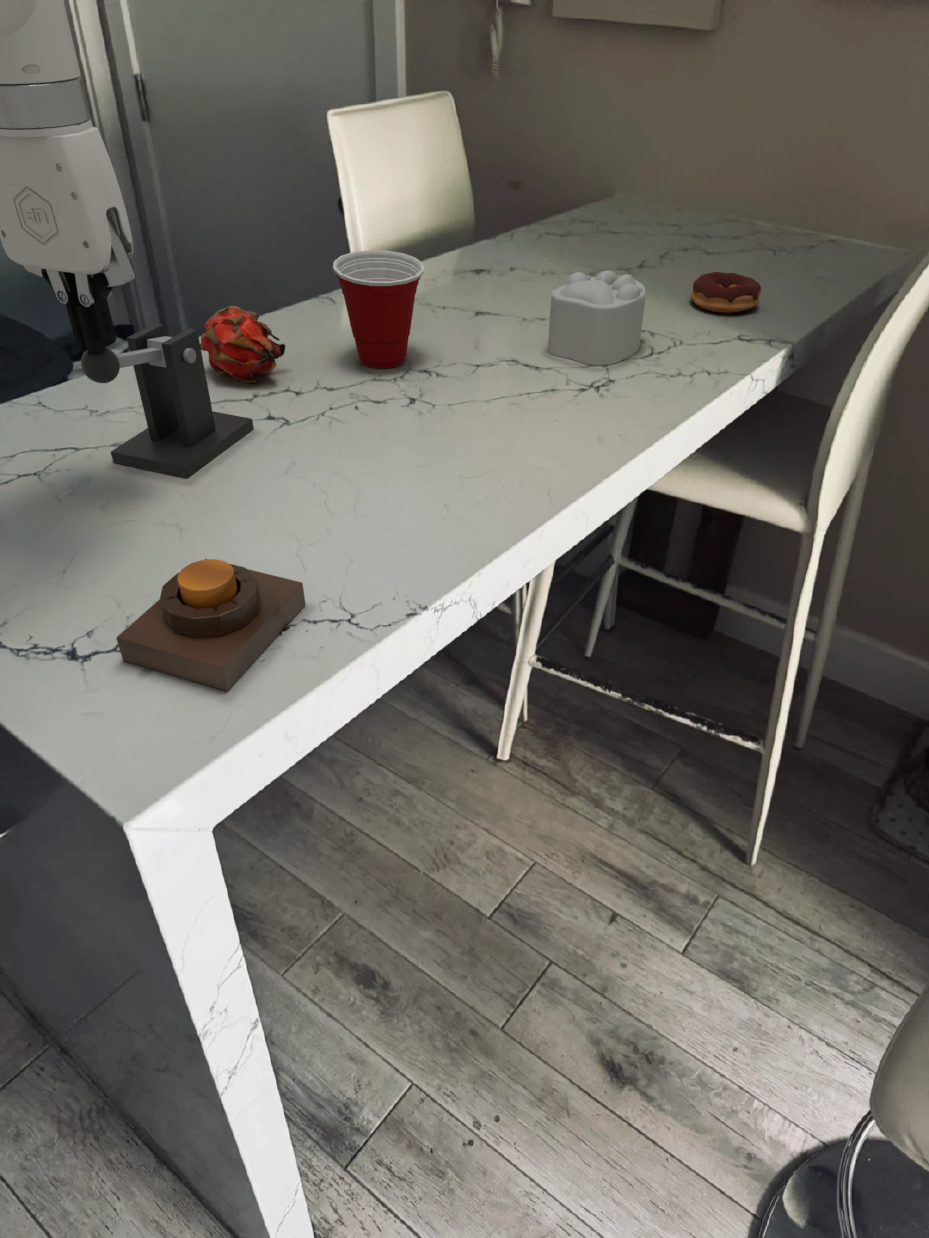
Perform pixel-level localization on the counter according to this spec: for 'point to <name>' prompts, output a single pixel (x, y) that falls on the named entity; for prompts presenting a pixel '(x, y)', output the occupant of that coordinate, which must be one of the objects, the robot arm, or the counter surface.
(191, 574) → the warm button
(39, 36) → the robot arm
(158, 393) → the ball-topped lever switch base
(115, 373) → the ball-topped lever switch
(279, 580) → the control block
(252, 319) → the dragon fruit
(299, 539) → the counter surface
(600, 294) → the lumpy-topped squat cylinder
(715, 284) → the donut
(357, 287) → the plastic cup
